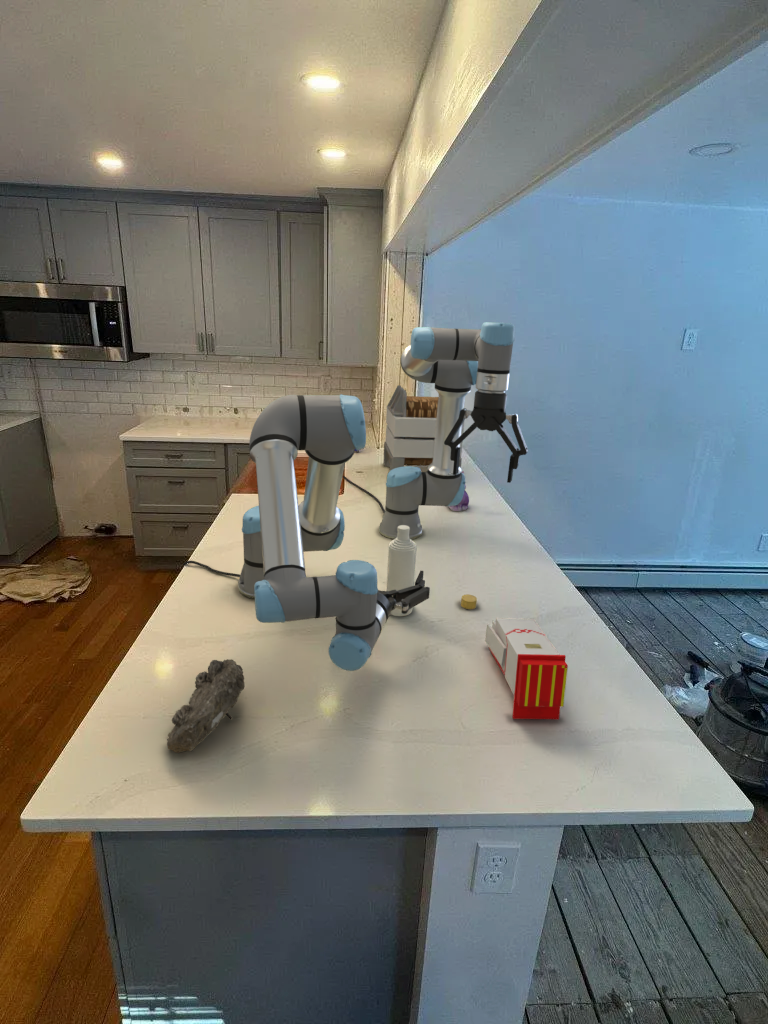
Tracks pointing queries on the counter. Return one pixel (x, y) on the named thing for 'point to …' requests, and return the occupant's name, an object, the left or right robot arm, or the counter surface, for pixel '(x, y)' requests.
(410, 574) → the bottle
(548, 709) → the toy
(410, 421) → the grey slatted box
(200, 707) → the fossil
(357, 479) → the counter surface
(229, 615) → the counter surface
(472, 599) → the cap
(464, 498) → the figurine
